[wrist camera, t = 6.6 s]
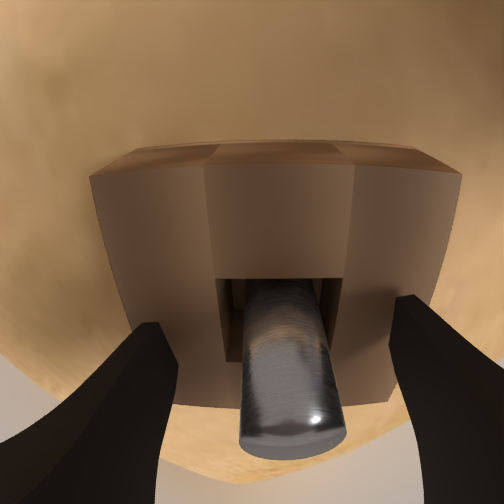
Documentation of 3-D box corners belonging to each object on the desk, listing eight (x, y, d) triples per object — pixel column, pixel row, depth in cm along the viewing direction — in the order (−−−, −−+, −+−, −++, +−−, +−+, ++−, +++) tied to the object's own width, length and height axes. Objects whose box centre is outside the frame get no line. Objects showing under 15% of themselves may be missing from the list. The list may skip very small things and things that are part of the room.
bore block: (412, 146, 10) (461, 174, 7) (372, 346, 15) (387, 401, 12) (137, 148, 10) (89, 176, 7) (177, 347, 15) (162, 402, 12)
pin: (306, 240, 11) (352, 409, 5) (309, 292, 13) (341, 453, 6) (241, 247, 12) (229, 421, 5) (250, 298, 13) (247, 462, 7)
